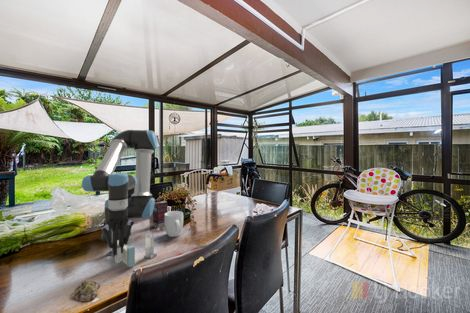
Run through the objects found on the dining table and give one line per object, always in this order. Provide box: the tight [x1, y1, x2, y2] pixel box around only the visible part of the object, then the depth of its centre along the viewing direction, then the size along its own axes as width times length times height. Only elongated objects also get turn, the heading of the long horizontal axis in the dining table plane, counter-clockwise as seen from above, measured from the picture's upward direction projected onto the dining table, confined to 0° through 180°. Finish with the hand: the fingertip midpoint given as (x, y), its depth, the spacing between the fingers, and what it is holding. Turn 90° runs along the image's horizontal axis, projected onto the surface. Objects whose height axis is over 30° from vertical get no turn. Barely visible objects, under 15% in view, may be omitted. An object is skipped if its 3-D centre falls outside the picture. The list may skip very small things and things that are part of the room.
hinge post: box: [106, 248, 115, 257], centre depth 102 cm, size 5×5×12 cm
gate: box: [117, 240, 136, 268], centre depth 95 cm, size 18×2×8 cm, turn 49°
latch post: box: [143, 235, 157, 260], centre depth 99 cm, size 4×4×10 cm
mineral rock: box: [71, 280, 101, 302], centre depth 74 cm, size 11×4×8 cm
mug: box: [164, 210, 184, 238], centre depth 124 cm, size 15×11×13 cm
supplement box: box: [152, 200, 168, 228], centre depth 141 cm, size 9×5×16 cm, turn 146°
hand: (117, 261), depth 91 cm, fingers closed
